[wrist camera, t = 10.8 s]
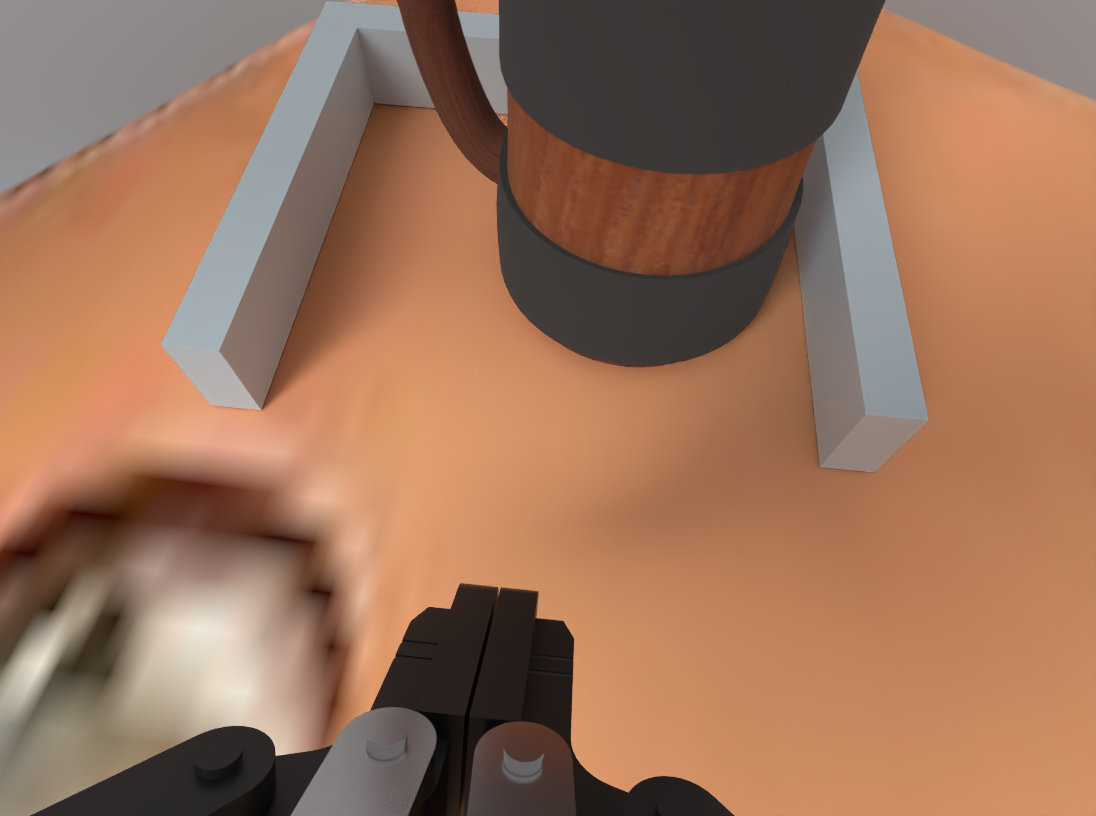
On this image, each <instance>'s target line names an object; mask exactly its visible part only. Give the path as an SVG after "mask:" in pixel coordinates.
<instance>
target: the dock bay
mask: <svg viewBox="0 0 1096 816" xmlns="http://www.w3.org/2000/svg"><path fill="white" fill-rule="evenodd" d="M457 12H458V15H459V19H460V23H461V26H462V30H463V34H464V37H465V40H466V43H467V46H468V49H469V52H470V55H471V58H472V61H473V64H474V67H475V69H476V72H477V75H478V77H479V80H480V82H481V84H482V87H483V89H484V91H485V94H486V96H487V98H488V100H489V102H490V104H491V106H492V108H493V110H494V111H495V113H496V114H508V108H507V86H506V84H505V81H504V78H503V75H502V72H501V68H500V59H499V14H489V13H476V12H463V11H457ZM374 103H377V104H389V105H401V106H413V107H425V108H435V107H434V105H433V103H432V100H431V98H430V96H429V93H428V91H427V89H426V86H425V84H424V82H423V79H422V77H421V74H420V71H419V69H418V66H417V63H416V60H415V58H414V55H413V52H412V49H411V46H410V43H409V40H408V37H407V34H406V31H405V28H404V24H403V20H402V17H401V13H400V9H399V6H387V5H374V4H361V3H349V2H336V1H326V3H325V5H324V7H323V10H322V12H321V14H320V16H319V18H318V20H317V22H316V24H315V26H314V28H313V30H312V32H311V34H310V36H309V38H308V41H307V43H306V45H305V47H304V49H303V51H302V53H301V55H300V57H299V59H298V61H297V63H296V65H295V68H294V70H293V72H292V74H291V76H290V78H289V80H288V82H287V84H286V86H285V88H284V90H283V92H282V94H281V97H280V99H279V101H278V103H277V105H276V107H275V109H274V111H273V113H272V115H271V117H270V119H269V121H268V124H267V126H266V128H265V130H264V132H263V134H262V136H261V138H260V140H259V142H258V144H257V146H256V148H255V151H254V153H253V155H252V157H251V159H250V161H249V163H248V165H247V167H246V169H245V171H244V173H243V175H242V178H241V180H240V182H239V184H238V186H237V188H236V190H235V192H234V194H233V196H232V198H231V200H230V202H229V204H228V207H227V209H226V211H225V213H224V215H223V217H222V219H221V221H220V223H219V225H218V227H217V229H216V231H215V234H214V236H213V238H212V240H211V242H210V244H209V246H208V248H207V250H206V252H205V254H204V256H203V258H202V261H201V263H200V265H199V267H198V269H197V271H196V273H195V275H194V277H193V279H192V281H191V283H190V285H189V288H188V290H187V292H186V294H185V296H184V298H183V300H182V302H181V304H180V306H179V308H178V310H177V312H176V315H175V317H174V319H173V321H172V323H171V325H170V327H169V329H168V331H167V333H166V335H165V337H164V339H163V341H162V344H161V346H162V347H163V348H164V349H165V351H166V352H167V353H168V354H169V355H170V357H171V358H172V359H173V360H174V362H175V363H176V364H177V365H178V366H179V368H180V369H181V370H182V371H183V372H184V374H185V375H186V376H187V377H188V378H189V380H190V381H191V382H192V383H193V384H194V386H195V387H196V388H197V389H198V391H199V392H200V393H201V394H202V395H203V397H204V398H205V399H206V400H207V401H208V403H209V404H210V405H214V406H224V407H234V408H244V409H253V410H262V407H263V404H264V402H265V399H266V396H267V393H268V391H269V388H270V385H271V382H272V380H273V377H274V374H275V372H276V369H277V366H278V363H279V361H280V358H281V355H282V353H283V350H284V347H285V344H286V342H287V339H288V336H289V334H290V331H291V328H292V325H293V323H294V320H295V317H296V315H297V312H298V309H299V306H300V304H301V301H302V298H303V296H304V293H305V290H306V287H307V285H308V282H309V279H310V277H311V274H312V271H313V268H314V266H315V263H316V260H317V258H318V255H319V252H320V249H321V247H322V244H323V241H324V239H325V236H326V233H327V230H328V228H329V225H330V222H331V219H332V217H333V214H334V211H335V209H336V206H337V203H338V200H339V198H340V195H341V192H342V190H343V187H344V184H345V181H346V179H347V176H348V173H349V171H350V168H351V165H352V162H353V160H354V157H355V154H356V152H357V149H358V146H359V143H360V141H361V138H362V135H363V133H364V130H365V127H366V124H367V122H368V119H369V116H370V114H371V111H372V108H373V105H374ZM803 188H804V189H803V196H802V202H801V206H800V208H799V211H798V214H797V217H796V220H795V223H794V232H795V241H796V250H797V259H798V269H799V278H800V287H801V296H802V306H803V315H804V324H805V333H806V343H807V352H808V361H809V370H810V380H811V389H812V398H813V407H814V417H815V426H816V435H817V444H818V454H819V463H820V467H825V468H834V469H844V470H854V471H864V472H875V471H876V470H877V469H878V468H879V467H880V466H882V465H883V464H884V463H885V462H886V461H887V460H888V459H889V458H890V457H891V456H892V455H893V454H894V453H895V452H896V451H897V450H898V449H899V448H900V447H902V446H903V445H904V444H905V443H906V442H907V441H908V440H909V439H910V438H911V437H912V436H913V435H914V434H915V433H916V432H917V431H918V430H919V429H920V428H922V427H923V426H924V425H925V424H926V423H927V422H928V421H929V419H928V414H927V410H926V405H925V400H924V395H923V390H922V385H921V380H920V376H919V371H918V366H917V361H916V356H915V351H914V346H913V341H912V337H911V332H910V327H909V322H908V317H907V312H906V307H905V303H904V298H903V293H902V288H901V283H900V278H899V273H898V268H897V264H896V259H895V254H894V249H893V244H892V239H891V234H890V230H889V225H888V220H887V215H886V210H885V205H884V200H883V195H882V191H881V186H880V181H879V176H878V171H877V166H876V161H875V156H874V152H873V147H872V142H871V137H870V132H869V127H868V122H867V118H866V113H865V108H864V103H863V98H862V93H861V88H860V83H859V79H858V74H857V71H856V74H855V77H854V79H853V82H852V84H851V87H850V89H849V92H848V94H847V97H846V99H845V102H844V104H843V107H842V110H841V111H840V113H839V115H838V116H837V118H836V119H835V121H834V123H833V124H832V125H831V126H830V127H829V128H828V129H827V130H826V131H825V132H824V134H823V135H822V136H820V137H819V138H818V139H817V141H816V144H815V146H814V149H813V151H812V154H811V156H810V159H809V161H808V164H807V166H806V168H805V171H804V173H803Z"/></svg>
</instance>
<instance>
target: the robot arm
mask: <svg viewBox="0 0 1096 816" xmlns="http://www.w3.org/2000/svg"><path fill="white" fill-rule="evenodd" d="M498 592H499V591H498V587H491V586H482V585H472V584H463V583H461V584H460V585H459V587H458V590H457V593H456V596H455V598H454V601H453V604H452V607H451V609H444V608H434V607H428V608H427V609H426V610H424V611H423V612H422V613H421V614H419V615H418V616H417V617H416V618H414V619H413V620H412V621H411V622H410V624H409V626H408V629H407V631H406V633H405V635H404V637H403V640H402V643H401V644H400V646H399V648H398V651H397V653H396V656H395V659H393V662H392V664H391V666H390V668H389V670H388V673H387V675H386V677H385V679H384V681H383V684H382V686H381V688H380V690H379V692H378V695H377V697H376V699H375V701H374V704H373V706H372V708H371V710H370V711H369V712H366V713H363V714H362V715H360V716H358V717H356V718H355V719H353V720H352V721H351V722H349V723H348V724H347V725H346V726H345V727H344V729H343V730H342V731H341V733H340V734H339V736H338V738H337V739H336V741H335V743H334V744H333V745H331V746H329V747H326V748H322V749H319V750H314V751H308V752H301V753H294V754H287V755H280V756H275V746H274V744H273V742H272V740H271V739H270V737H269V736H267V735H266V734H265V733H264V732H262V731H260V730H258V729H254V728H251V727H245V726H229V727H222V728H217V729H213V730H210V731H207V732H204V733H202V734H200V735H197V736H195V737H193V738H191V739H189V740H187V741H185V742H183V743H180V744H178V745H176V746H174V747H172V748H170V749H168V750H166V751H164V752H162V753H160V754H158V755H156V756H153V757H151V758H149V759H147V760H145V761H143V762H141V763H139V764H137V765H135V766H133V767H131V768H128V769H126V770H124V771H122V772H120V773H118V774H116V775H114V776H112V777H110V778H108V779H106V780H104V781H101V782H99V783H97V784H95V785H93V786H91V787H89V788H87V789H85V790H83V791H81V792H79V793H76V794H74V795H72V796H70V797H68V798H66V799H64V800H62V801H60V802H58V803H56V804H54V805H52V806H49V807H47V808H45V809H43V810H41V811H39V812H37V813H35V814H33V815H31V816H734V815H733V814H732V813H731V812H730V811H729V810H728V809H727V808H725V807H724V806H723V805H722V804H721V803H720V802H719V801H718V800H717V799H716V798H715V797H714V796H712V795H711V794H710V793H709V792H708V791H706V790H705V789H703V788H702V787H700V786H698V785H696V784H694V783H692V782H690V781H687V780H684V779H681V778H676V777H668V776H660V777H653V778H648V779H646V780H643V781H641V782H640V783H638V784H637V785H635V786H634V787H633V788H632V789H631V790H630V792H629V793H628V792H625V791H623V790H620V789H618V788H615V787H613V786H610V785H608V784H606V783H604V782H602V781H600V780H599V779H597V778H595V777H594V776H593V775H591V774H590V773H589V772H588V771H586V769H585V768H584V767H583V766H582V765H581V764H580V763H579V761H578V760H577V758H576V756H575V754H574V752H573V749H572V746H571V713H572V684H573V654H574V638H573V636H572V635H571V633H570V631H569V630H568V628H567V626H566V625H565V623H564V621H558V620H548V619H539V618H536V616H537V605H538V591H530V590H521V589H511V588H502V587H501V589H500V593H499V597H498Z"/></svg>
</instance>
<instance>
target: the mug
mask: <svg viewBox="0 0 1096 816" xmlns="http://www.w3.org/2000/svg"><path fill="white" fill-rule="evenodd" d="M397 2H398V6H399V9H400V13H401V17H402V20H403V24H404V28H405V31H406V34H407V37H408V40H409V43H410V46H411V49H412V52H413V55H414V58H415V60H416V63H417V66H418V69H419V71H420V74H421V77H422V79H423V82H424V84H425V86H426V89H427V91H428V93H429V96H430V98H431V100H432V103H433V105H434V107H435V109H436V111H437V113H438V115H439V117H440V119H441V121H442V123H443V124H444V126H445V128H446V129H447V131H448V133H449V134H450V136H451V138H452V139H453V141H454V142H455V144H456V145H457V146H458V148H459V149H460V150H461V152H462V153H463V154H464V156H465V157H466V158H467V159H468V160H469V161H470V162H471V163H472V164H473V165H474V166H475V167H476V168H477V169H478V170H479V171H480V172H481V173H482V174H484V175H485V176H486V177H488V178H489V179H490V180H492V181H493V182H495V183H497V184H498V187H497V230H498V242H499V254H500V263H501V270H502V274H503V278H504V282H505V284H506V287H507V289H508V291H509V293H510V296H511V297H512V299H513V300H514V302H515V303H516V305H517V307H518V308H519V309H520V311H521V312H522V313H523V314H524V315H525V316H526V317H527V319H528V320H529V321H530V322H531V323H533V324H534V325H535V326H536V327H537V328H538V329H539V330H541V331H542V332H543V333H544V334H546V335H547V336H549V337H550V338H552V339H553V340H555V341H556V342H558V343H560V344H561V345H563V346H564V347H566V348H568V349H570V350H572V351H574V352H576V353H578V354H580V355H582V356H585V357H587V358H590V359H593V360H596V361H600V362H604V363H608V364H612V365H619V366H626V367H651V366H661V365H666V364H671V363H676V362H681V361H686V360H689V359H692V358H695V357H699V356H702V355H704V354H707V353H709V352H711V351H713V350H715V349H717V348H719V347H721V346H722V345H724V344H726V343H727V342H729V341H730V340H732V339H733V338H734V337H735V336H737V335H738V334H739V333H740V332H741V331H742V330H743V329H745V327H746V326H747V325H748V324H749V323H750V321H751V320H752V319H753V318H754V317H755V315H756V313H757V311H758V310H759V308H760V306H761V305H762V303H763V301H764V299H765V297H766V295H767V293H768V291H769V289H770V287H771V284H772V282H773V280H774V278H775V275H776V273H777V270H778V268H779V265H780V262H781V260H782V257H783V254H784V251H785V249H786V246H787V243H788V240H789V238H790V235H791V232H792V229H793V226H794V223H795V220H796V217H797V214H798V211H799V208H800V206H801V202H802V196H803V189H804V188H803V173H804V171H805V168H806V166H807V164H808V161H809V159H810V156H811V154H812V151H813V149H814V146H815V144H816V141H817V139H818V138H819V137H820V136H822V135H823V134H824V132H825V131H826V130H827V129H828V128H829V127H830V126H831V125H832V124H833V123H834V121H835V119H836V118H837V116H838V115H839V113H840V111H841V110H842V107H843V104H844V102H845V99H846V97H847V94H848V92H849V89H850V87H851V84H852V82H853V79H854V77H855V74H856V71H857V69H858V66H859V64H860V61H861V59H862V56H863V54H864V51H865V49H866V46H867V44H868V41H869V39H870V36H871V34H872V31H873V29H874V26H875V24H876V21H877V19H878V17H879V14H880V12H881V9H882V7H883V4H884V2H885V0H499V59H500V68H501V72H502V75H503V78H504V81H505V84H506V86H507V108H508V128H507V127H506V126H505V125H504V124H503V123H502V122H501V120H500V119H499V118H498V116H497V115H496V113H495V111H494V110H493V108H492V106H491V104H490V102H489V100H488V98H487V96H486V94H485V91H484V89H483V87H482V84H481V82H480V80H479V77H478V75H477V72H476V69H475V67H474V64H473V61H472V58H471V55H470V52H469V49H468V46H467V43H466V40H465V37H464V34H463V30H462V26H461V23H460V19H459V15H458V12H457V7H456V3H455V0H397Z"/></svg>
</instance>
